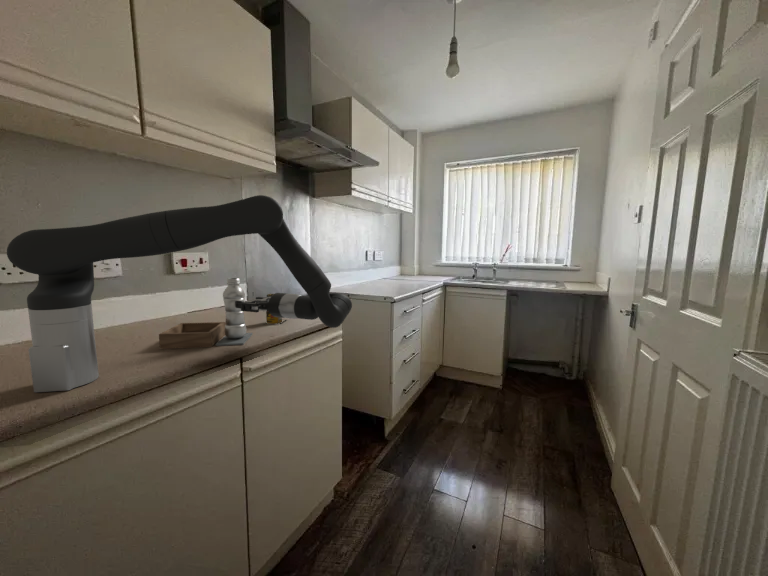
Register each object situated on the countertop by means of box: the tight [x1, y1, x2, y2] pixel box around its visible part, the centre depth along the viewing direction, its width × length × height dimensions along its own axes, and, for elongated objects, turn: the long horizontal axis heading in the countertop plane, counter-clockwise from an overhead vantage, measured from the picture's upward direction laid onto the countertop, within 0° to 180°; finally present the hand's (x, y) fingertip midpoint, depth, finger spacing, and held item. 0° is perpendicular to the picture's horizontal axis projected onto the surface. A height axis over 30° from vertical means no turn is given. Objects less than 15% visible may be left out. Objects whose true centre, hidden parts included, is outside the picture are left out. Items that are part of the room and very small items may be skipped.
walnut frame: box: [158, 321, 226, 350], centre depth 96 cm, size 14×14×4 cm
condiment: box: [265, 293, 289, 325], centre depth 123 cm, size 7×8×12 cm
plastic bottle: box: [222, 277, 247, 338], centre depth 97 cm, size 6×7×20 cm
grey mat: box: [215, 332, 253, 347], centre depth 99 cm, size 12×8×1 cm, turn 11°
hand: (246, 302), depth 95 cm, fingers open, 8 cm apart
